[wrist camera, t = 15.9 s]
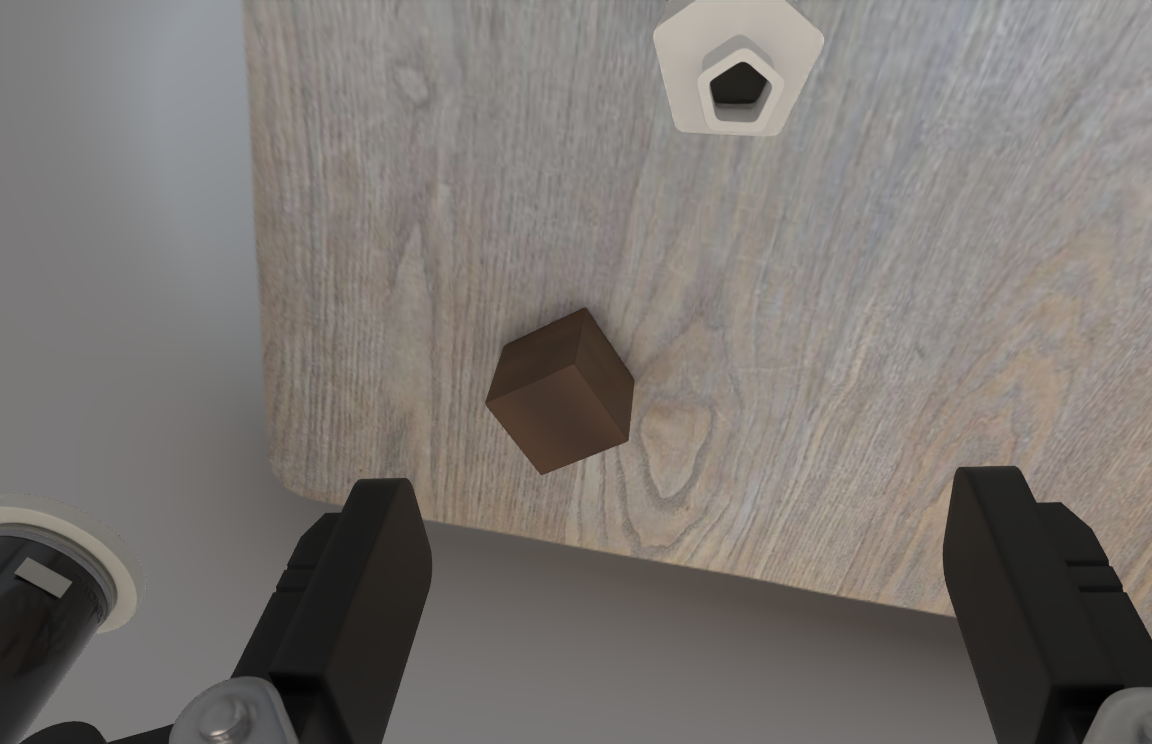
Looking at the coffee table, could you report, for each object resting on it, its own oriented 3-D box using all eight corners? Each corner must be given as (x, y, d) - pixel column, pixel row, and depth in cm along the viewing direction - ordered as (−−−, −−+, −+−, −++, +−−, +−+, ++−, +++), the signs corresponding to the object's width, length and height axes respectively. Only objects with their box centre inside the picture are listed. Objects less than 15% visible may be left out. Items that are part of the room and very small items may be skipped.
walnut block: (554, 414, 47) (541, 476, 43) (503, 345, 45) (484, 403, 41) (635, 380, 45) (629, 441, 41) (585, 306, 43) (574, 363, 39)
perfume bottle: (795, 17, 35) (850, 156, 22) (686, 48, 36) (682, 197, 23) (774, -109, 32) (823, -31, 20) (658, -72, 33) (638, 24, 21)
